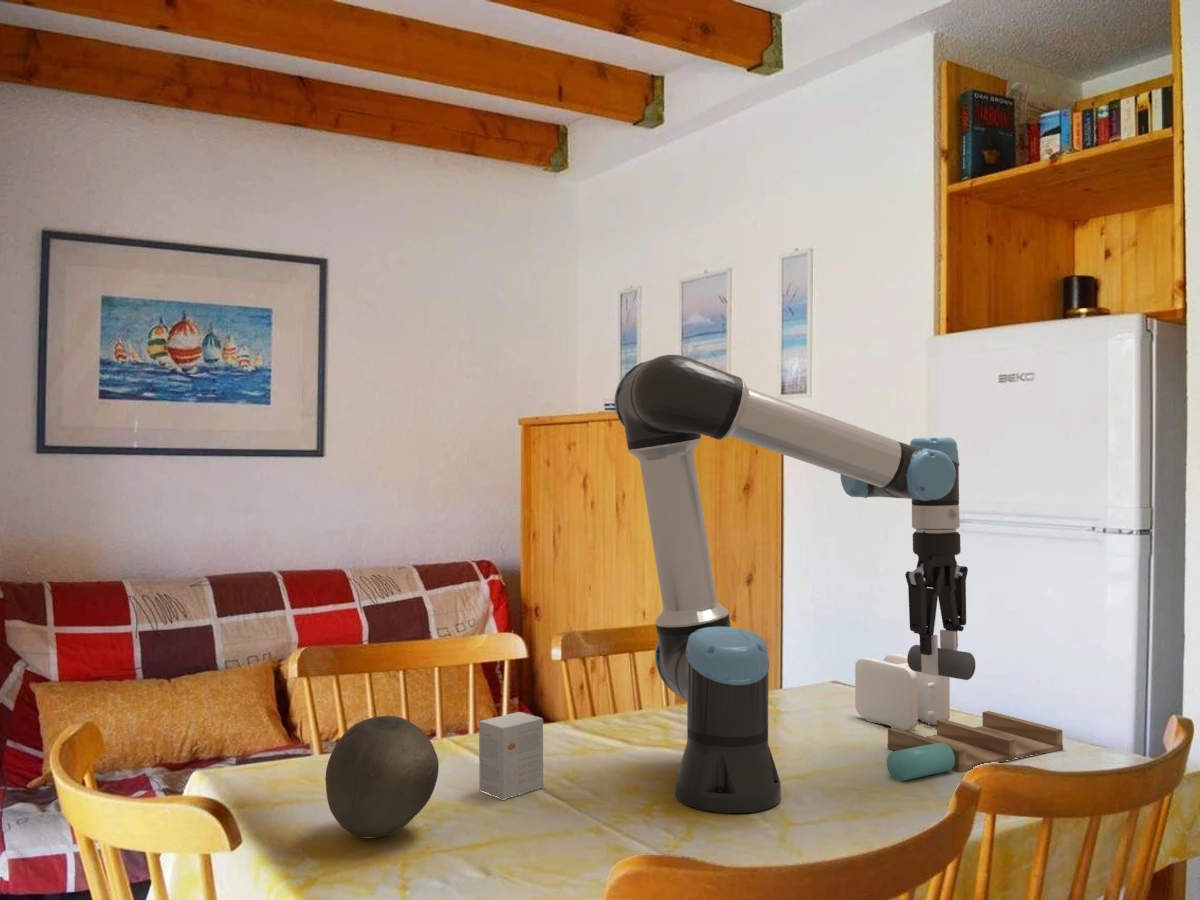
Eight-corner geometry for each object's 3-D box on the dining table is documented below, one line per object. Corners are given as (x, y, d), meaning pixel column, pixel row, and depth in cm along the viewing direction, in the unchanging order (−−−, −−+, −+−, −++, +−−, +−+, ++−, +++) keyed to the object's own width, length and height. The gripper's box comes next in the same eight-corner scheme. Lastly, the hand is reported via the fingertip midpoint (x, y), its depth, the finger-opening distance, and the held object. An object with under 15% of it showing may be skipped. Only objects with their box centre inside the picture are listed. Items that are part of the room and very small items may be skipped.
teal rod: (910, 781, 152) (904, 751, 153) (889, 781, 156) (884, 751, 157) (957, 771, 157) (951, 742, 158) (936, 771, 161) (930, 742, 162)
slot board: (958, 772, 158) (958, 750, 158) (887, 748, 171) (887, 728, 171) (1062, 749, 170) (1062, 729, 171) (989, 729, 184) (989, 710, 184)
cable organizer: (851, 717, 193) (850, 655, 193) (891, 710, 198) (891, 650, 198) (911, 735, 180) (910, 669, 180) (953, 728, 185) (952, 663, 185)
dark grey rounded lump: (335, 863, 123) (335, 738, 123) (318, 824, 136) (318, 711, 136) (449, 845, 128) (449, 725, 129) (422, 810, 141) (422, 701, 142)
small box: (520, 780, 155) (520, 710, 155) (544, 788, 151) (544, 717, 151) (477, 792, 149) (477, 720, 149) (502, 801, 145) (502, 727, 145)
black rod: (913, 676, 172) (904, 656, 170) (927, 659, 174) (917, 639, 173) (965, 685, 164) (955, 664, 162) (978, 667, 166) (969, 646, 164)
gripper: (921, 535, 160) (925, 683, 160) (987, 528, 170) (991, 668, 170) (883, 532, 167) (886, 675, 166) (949, 526, 177) (952, 661, 176)
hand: (939, 671), depth 168 cm, fingers closed on black rod, 4 cm apart
